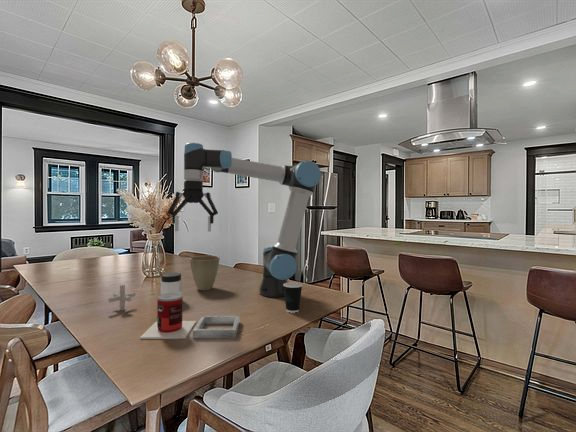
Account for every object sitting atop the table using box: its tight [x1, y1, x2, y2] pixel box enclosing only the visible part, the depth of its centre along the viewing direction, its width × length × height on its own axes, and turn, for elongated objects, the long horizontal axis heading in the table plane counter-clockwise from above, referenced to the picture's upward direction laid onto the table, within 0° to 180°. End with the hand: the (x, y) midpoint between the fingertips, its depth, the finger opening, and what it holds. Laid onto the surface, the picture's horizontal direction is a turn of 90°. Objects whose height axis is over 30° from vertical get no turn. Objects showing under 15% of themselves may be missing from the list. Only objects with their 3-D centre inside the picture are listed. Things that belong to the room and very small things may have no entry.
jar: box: [160, 272, 183, 296], centre depth 136 cm, size 9×8×12 cm
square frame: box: [192, 315, 241, 339], centre depth 104 cm, size 13×13×2 cm
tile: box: [139, 320, 197, 340], centre depth 104 cm, size 14×14×1 cm
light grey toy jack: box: [108, 284, 136, 311], centre depth 124 cm, size 10×10×10 cm
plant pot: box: [189, 255, 221, 291], centre depth 158 cm, size 15×15×16 cm
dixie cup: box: [283, 281, 304, 314], centre depth 125 cm, size 8×8×11 cm
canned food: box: [156, 293, 183, 333], centre depth 103 cm, size 8×8×11 cm
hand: (193, 231), depth 129 cm, fingers open, 13 cm apart
